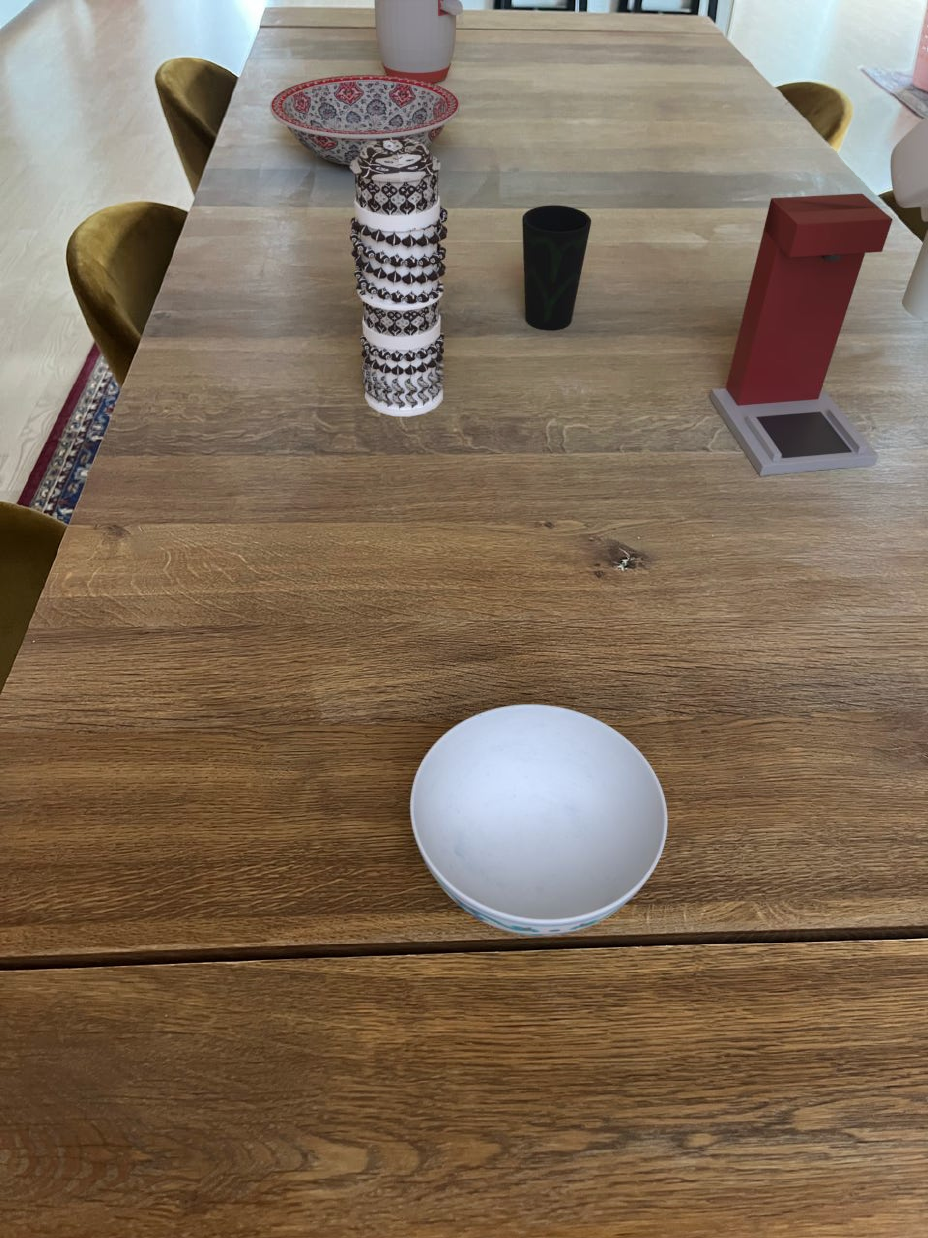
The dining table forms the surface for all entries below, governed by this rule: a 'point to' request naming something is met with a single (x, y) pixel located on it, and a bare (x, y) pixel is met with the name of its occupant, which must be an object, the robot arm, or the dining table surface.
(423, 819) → the chinaware
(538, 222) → the cup
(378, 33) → the citrus juicer
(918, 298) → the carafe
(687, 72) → the dining table surface
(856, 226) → the coffee machine
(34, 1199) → the dining table surface
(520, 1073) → the dining table surface
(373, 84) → the ceramic bowl
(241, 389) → the dining table surface
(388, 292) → the stacked patterned cylinder
